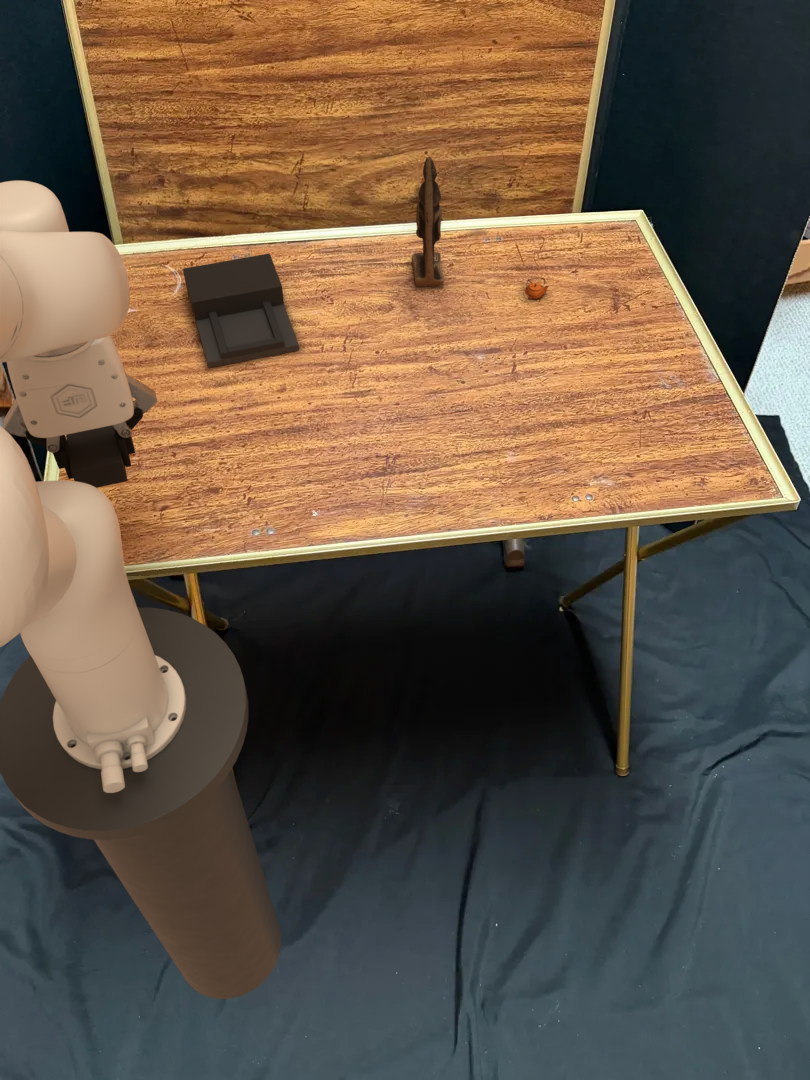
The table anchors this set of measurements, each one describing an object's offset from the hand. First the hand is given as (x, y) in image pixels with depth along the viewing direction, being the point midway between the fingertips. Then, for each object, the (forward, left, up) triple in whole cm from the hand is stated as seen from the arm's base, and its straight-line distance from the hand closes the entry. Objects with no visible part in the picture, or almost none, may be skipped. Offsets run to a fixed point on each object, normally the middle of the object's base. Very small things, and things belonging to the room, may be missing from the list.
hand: (98, 462), depth 101 cm
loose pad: (0, 0, -1) cm, 1 cm away
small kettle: (+25, -60, -11) cm, 66 cm away
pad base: (+31, -20, -11) cm, 38 cm away
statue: (+33, -47, -11) cm, 58 cm away
